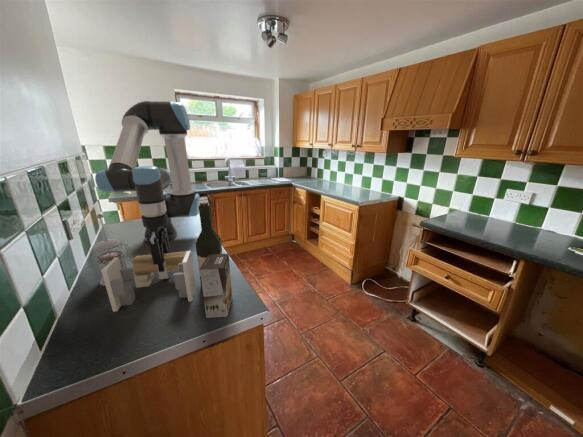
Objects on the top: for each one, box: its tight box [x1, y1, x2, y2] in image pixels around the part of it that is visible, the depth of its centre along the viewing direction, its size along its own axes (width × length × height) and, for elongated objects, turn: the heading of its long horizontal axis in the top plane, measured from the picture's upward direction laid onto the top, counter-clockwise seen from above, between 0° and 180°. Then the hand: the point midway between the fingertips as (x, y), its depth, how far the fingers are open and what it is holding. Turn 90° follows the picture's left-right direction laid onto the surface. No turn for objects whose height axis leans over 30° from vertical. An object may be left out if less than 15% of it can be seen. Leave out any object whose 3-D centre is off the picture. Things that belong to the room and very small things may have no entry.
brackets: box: [101, 250, 197, 313], centre depth 76 cm, size 8×22×14 cm, turn 103°
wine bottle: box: [194, 201, 224, 288], centre depth 81 cm, size 8×8×30 cm
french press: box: [92, 213, 131, 287], centre depth 86 cm, size 10×12×25 cm
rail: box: [131, 250, 188, 275], centre depth 86 cm, size 4×18×5 cm, turn 103°
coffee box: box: [200, 253, 233, 319], centre depth 71 cm, size 9×6×16 cm
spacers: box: [134, 270, 180, 289], centre depth 87 cm, size 6×18×4 cm, turn 103°
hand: (165, 274), depth 88 cm, fingers closed on rail, 4 cm apart
